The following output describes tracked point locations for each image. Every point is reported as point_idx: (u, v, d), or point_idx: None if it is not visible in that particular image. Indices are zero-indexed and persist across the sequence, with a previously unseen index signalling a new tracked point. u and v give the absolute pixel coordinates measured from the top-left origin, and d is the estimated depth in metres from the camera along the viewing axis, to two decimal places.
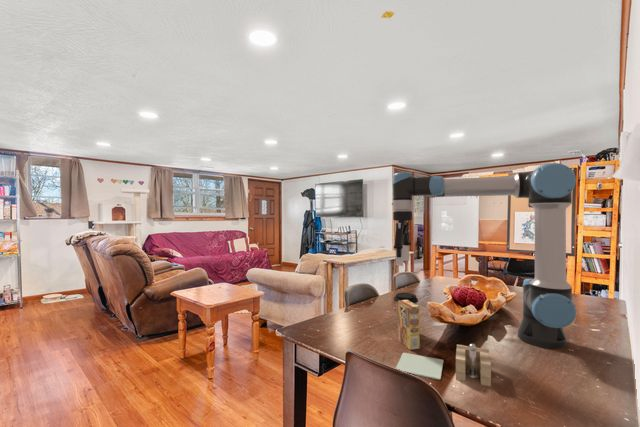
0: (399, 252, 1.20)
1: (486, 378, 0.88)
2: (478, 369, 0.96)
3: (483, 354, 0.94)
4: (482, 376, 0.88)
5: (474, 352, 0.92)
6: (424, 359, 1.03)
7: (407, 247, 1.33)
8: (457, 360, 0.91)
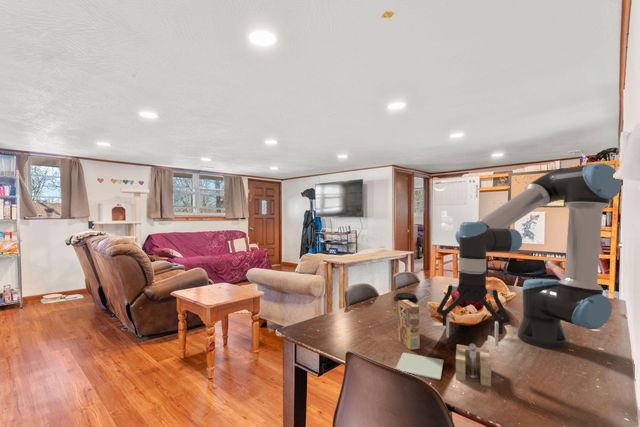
0: None
1: (486, 378, 0.88)
2: (478, 369, 0.96)
3: (483, 354, 0.94)
4: (482, 376, 0.88)
5: (474, 352, 0.92)
6: (424, 359, 1.03)
7: (495, 325, 0.94)
8: (457, 360, 0.91)
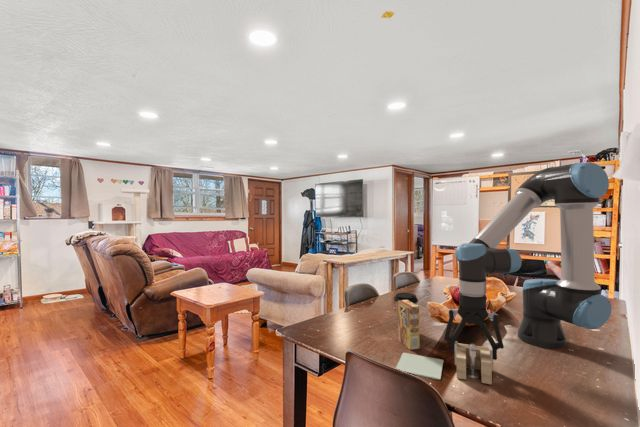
0: None
1: (487, 376, 0.88)
2: (479, 367, 0.96)
3: (484, 352, 0.94)
4: (483, 374, 0.88)
5: (474, 352, 0.92)
6: (424, 359, 1.03)
7: None
8: (458, 358, 0.91)
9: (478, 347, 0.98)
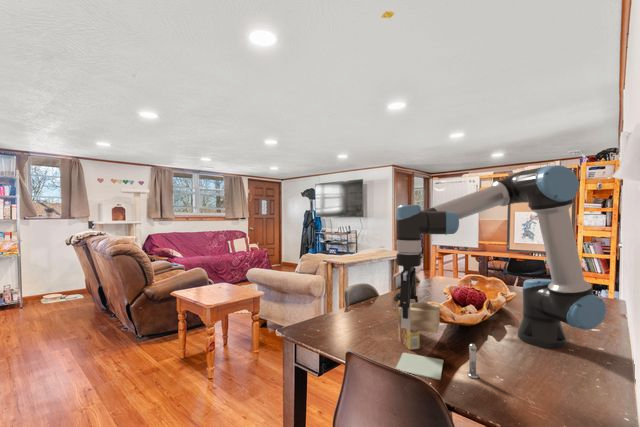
0: (406, 312, 0.95)
1: None
2: None
3: (418, 303, 1.02)
4: (438, 318, 0.99)
5: (474, 352, 0.92)
6: (424, 359, 1.03)
7: None
8: (437, 314, 0.93)
9: None
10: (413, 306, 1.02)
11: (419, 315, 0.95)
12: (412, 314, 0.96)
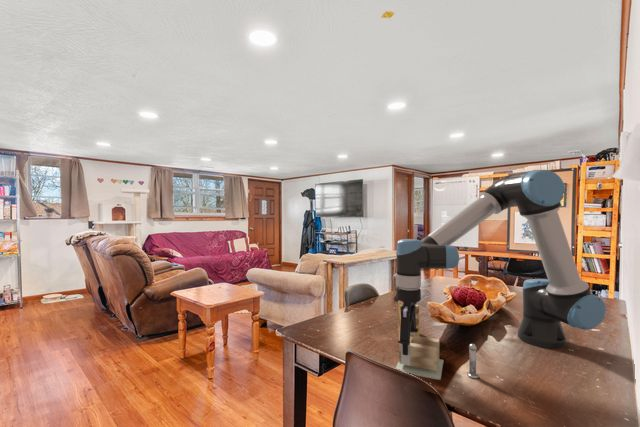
0: (405, 349, 0.95)
1: None
2: None
3: (417, 337, 1.02)
4: (438, 353, 0.99)
5: (474, 352, 0.92)
6: None
7: None
8: (436, 351, 0.93)
9: None
10: (413, 340, 1.02)
11: (419, 352, 0.95)
12: (412, 350, 0.96)
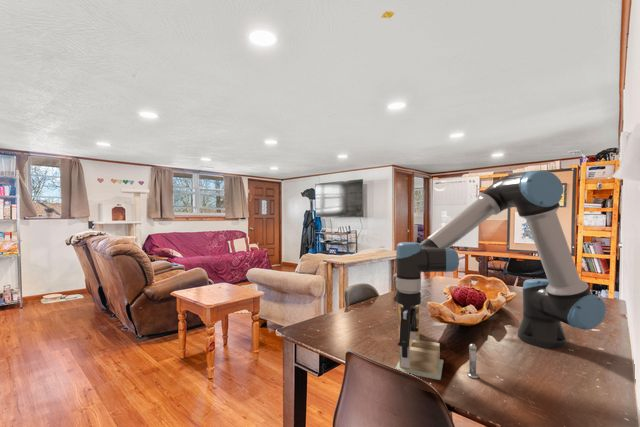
0: (405, 351, 0.94)
1: (439, 357, 1.00)
2: None
3: (418, 341, 1.02)
4: (439, 357, 0.99)
5: (474, 352, 0.92)
6: None
7: (414, 334, 1.06)
8: (437, 355, 0.93)
9: None
10: (413, 344, 1.02)
11: (419, 356, 0.95)
12: (412, 354, 0.96)
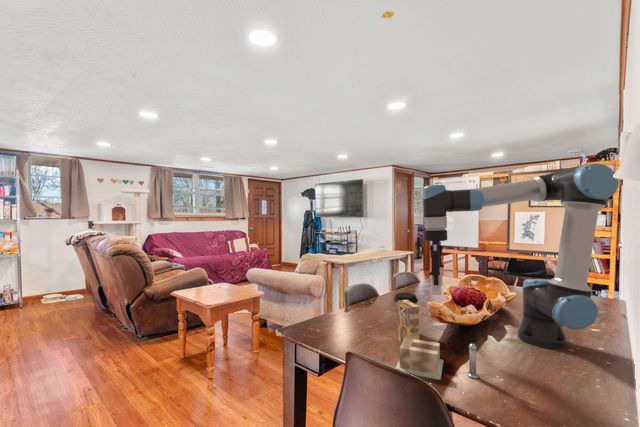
0: (436, 279, 1.02)
1: (439, 357, 1.00)
2: None
3: (418, 341, 1.02)
4: (439, 357, 0.99)
5: (474, 352, 0.92)
6: None
7: (440, 270, 1.16)
8: (437, 355, 0.93)
9: (406, 341, 1.03)
10: (413, 344, 1.02)
11: (419, 356, 0.95)
12: (412, 354, 0.96)
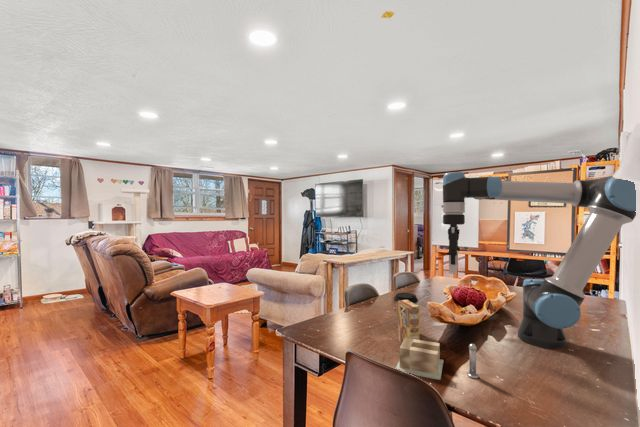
0: (453, 259, 1.11)
1: (439, 357, 1.00)
2: None
3: (418, 341, 1.02)
4: (439, 357, 0.99)
5: (474, 352, 0.92)
6: None
7: (456, 253, 1.24)
8: (437, 355, 0.93)
9: (406, 341, 1.03)
10: (413, 344, 1.02)
11: (419, 356, 0.95)
12: (412, 354, 0.96)
